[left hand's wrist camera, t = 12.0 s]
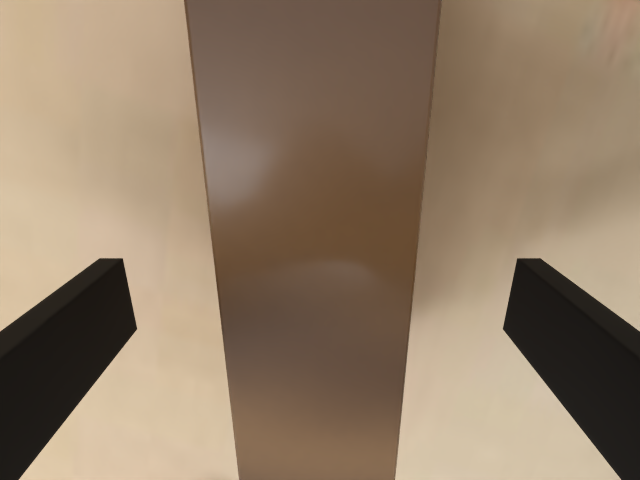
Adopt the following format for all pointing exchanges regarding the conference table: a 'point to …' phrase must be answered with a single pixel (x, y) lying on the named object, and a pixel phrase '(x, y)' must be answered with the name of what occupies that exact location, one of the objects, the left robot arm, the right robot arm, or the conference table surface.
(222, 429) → the conference table surface
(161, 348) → the conference table surface
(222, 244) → the beam
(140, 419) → the conference table surface
